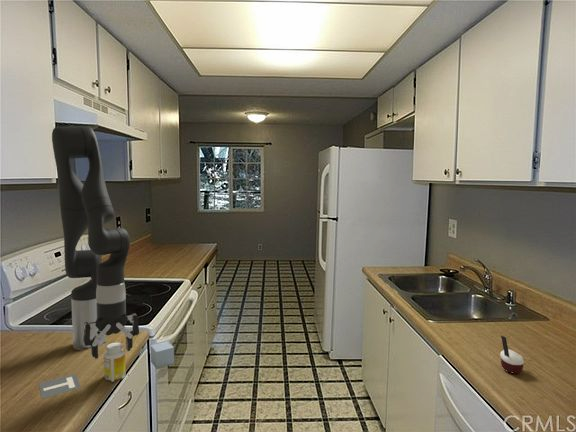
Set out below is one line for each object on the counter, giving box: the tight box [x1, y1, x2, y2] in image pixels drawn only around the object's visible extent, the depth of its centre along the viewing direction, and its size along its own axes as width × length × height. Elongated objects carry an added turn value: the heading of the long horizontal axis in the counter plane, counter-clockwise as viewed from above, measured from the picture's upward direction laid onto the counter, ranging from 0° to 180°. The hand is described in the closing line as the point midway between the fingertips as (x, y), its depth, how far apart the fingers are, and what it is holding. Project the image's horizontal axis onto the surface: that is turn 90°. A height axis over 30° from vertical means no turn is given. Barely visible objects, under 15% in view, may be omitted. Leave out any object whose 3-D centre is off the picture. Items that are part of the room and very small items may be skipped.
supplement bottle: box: [103, 342, 127, 382], centre depth 109 cm, size 6×6×10 cm
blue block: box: [150, 340, 175, 370], centre depth 120 cm, size 6×6×6 cm
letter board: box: [38, 373, 82, 400], centre depth 104 cm, size 9×9×1 cm
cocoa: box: [500, 335, 525, 374], centre depth 119 cm, size 10×6×12 cm, turn 89°
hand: (112, 353), depth 108 cm, fingers open, 8 cm apart
